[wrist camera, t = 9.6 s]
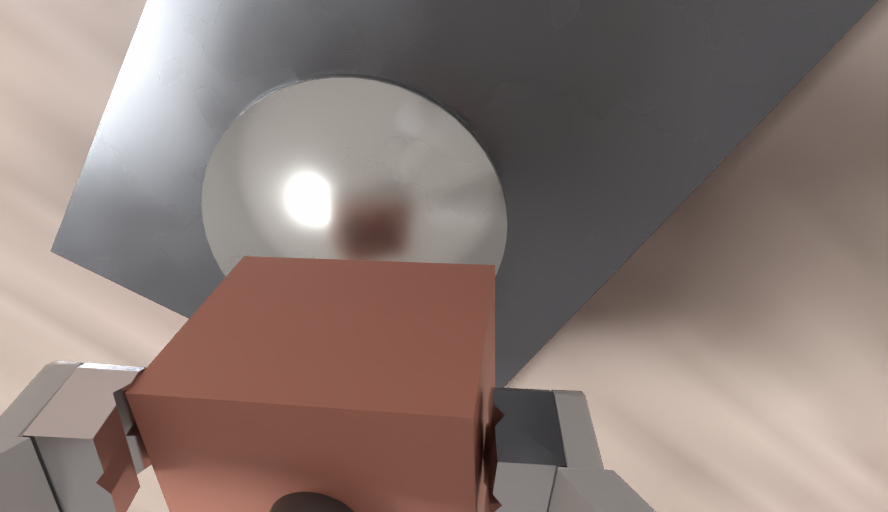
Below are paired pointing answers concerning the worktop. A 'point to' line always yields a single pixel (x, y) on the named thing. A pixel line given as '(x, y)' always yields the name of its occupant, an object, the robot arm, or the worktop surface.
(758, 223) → the worktop surface
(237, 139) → the base
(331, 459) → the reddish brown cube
